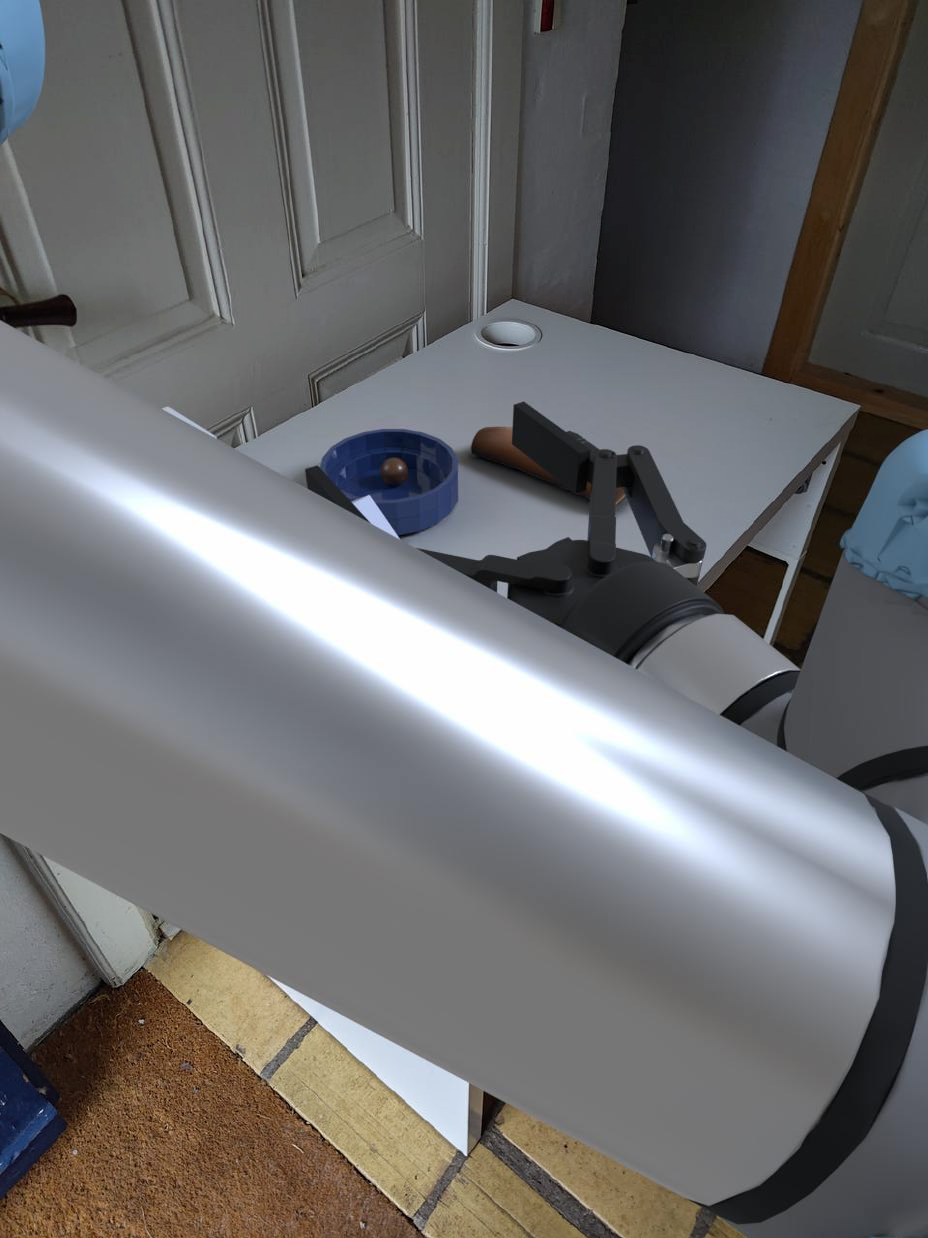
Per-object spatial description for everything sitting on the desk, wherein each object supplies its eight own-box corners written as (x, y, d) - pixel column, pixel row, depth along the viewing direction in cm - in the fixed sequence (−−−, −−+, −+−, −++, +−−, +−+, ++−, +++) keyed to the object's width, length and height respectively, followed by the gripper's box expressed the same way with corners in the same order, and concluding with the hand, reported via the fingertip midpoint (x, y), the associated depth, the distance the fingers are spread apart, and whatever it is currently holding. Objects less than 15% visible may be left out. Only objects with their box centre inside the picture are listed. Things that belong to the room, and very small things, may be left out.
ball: (381, 454, 93) (394, 476, 95) (370, 470, 92) (383, 493, 93) (404, 449, 92) (416, 472, 94) (393, 466, 90) (406, 489, 92)
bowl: (316, 539, 87) (311, 502, 84) (332, 463, 98) (328, 428, 94) (457, 540, 87) (457, 503, 84) (458, 464, 98) (458, 428, 95)
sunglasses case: (646, 475, 95) (638, 442, 89) (615, 527, 94) (605, 498, 88) (511, 425, 103) (495, 392, 97) (480, 473, 102) (463, 443, 96)
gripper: (417, 862, 35) (227, 575, 48) (840, 636, 44) (585, 450, 58) (410, 741, 29) (200, 457, 43) (889, 517, 39) (597, 343, 53)
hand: (420, 453), depth 50 cm, fingers open, 13 cm apart
